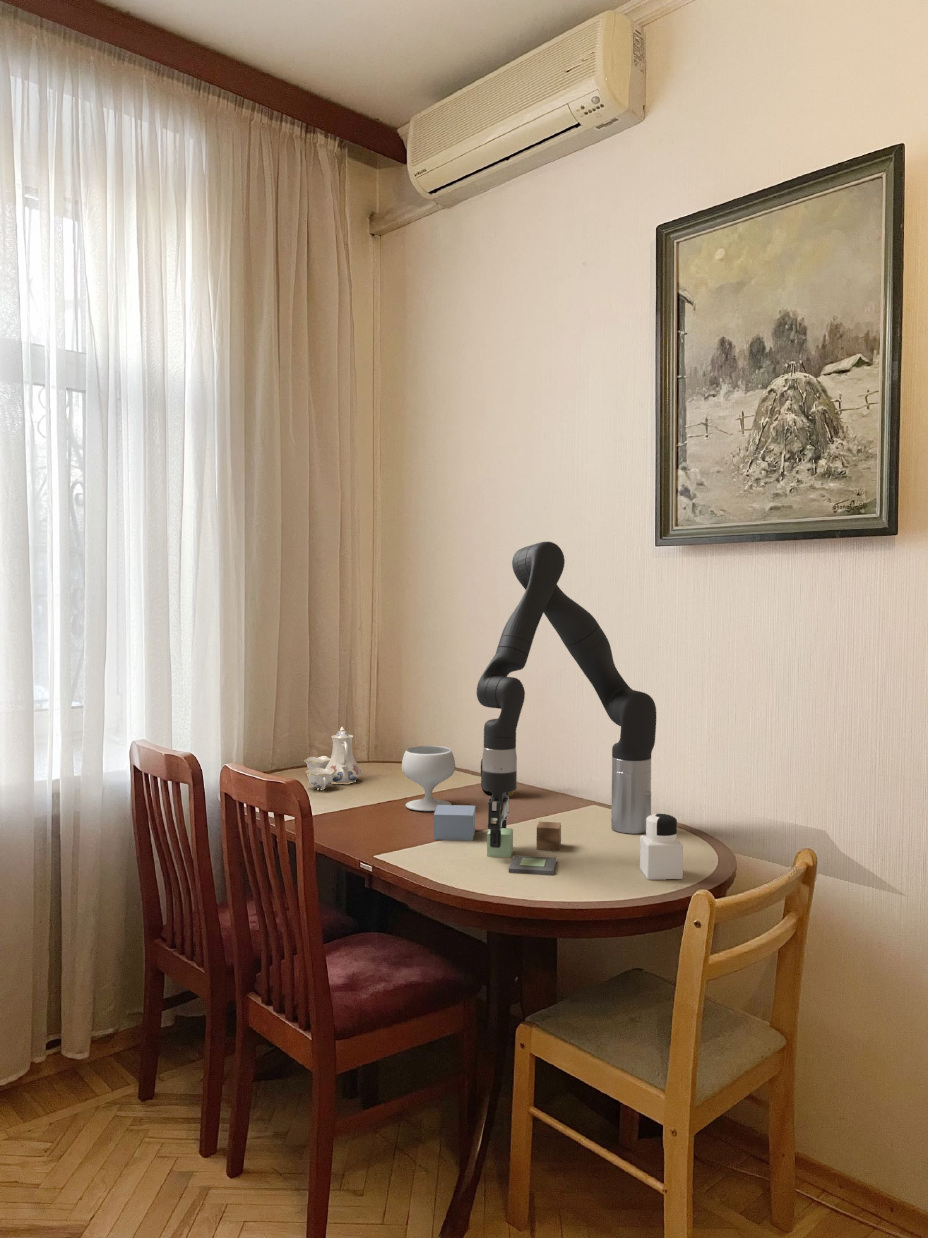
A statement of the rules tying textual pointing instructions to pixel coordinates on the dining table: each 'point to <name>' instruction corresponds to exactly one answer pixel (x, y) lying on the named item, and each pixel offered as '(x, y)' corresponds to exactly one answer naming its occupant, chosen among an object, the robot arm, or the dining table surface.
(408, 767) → the chalice
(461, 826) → the base block
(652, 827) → the medicine bottle
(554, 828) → the walnut cube
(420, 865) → the dining table surface
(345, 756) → the chinaware
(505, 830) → the sage cube
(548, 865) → the tile
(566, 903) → the dining table surface
